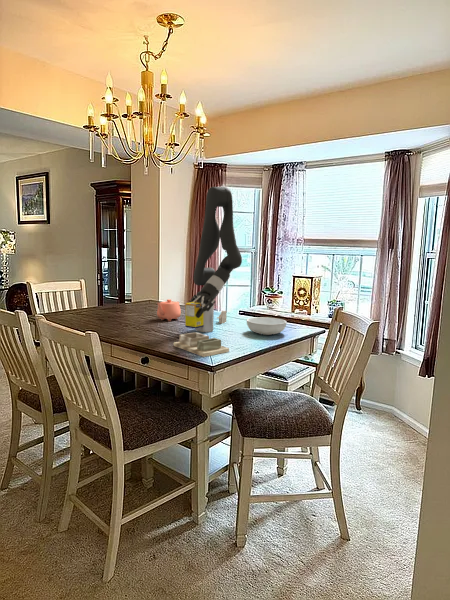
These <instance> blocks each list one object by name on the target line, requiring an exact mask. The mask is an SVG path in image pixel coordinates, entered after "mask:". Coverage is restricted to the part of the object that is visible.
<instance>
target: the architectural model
mask: <svg viewBox="0 0 450 600" xmlns="http://www.w3.org/2000/svg"><path fill="white" fill-rule="evenodd" d="M227 312H228V311H227V310H221V312H220V314H219V315H218V317H216V319H218V324H219V323H220V324H221V325H222V323H223V324H226V323H227V318H228V316H227ZM225 322H226V323H225ZM220 324H219V325H220Z"/></svg>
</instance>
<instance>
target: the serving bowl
mask: <svg viewBox="0 0 450 600" xmlns="http://www.w3.org/2000/svg"><path fill="white" fill-rule="evenodd" d="M246 325H247V327H248V329H249V330H250V331H252V332H254V333H256V334H258V335H262V334H263V336H264V335H265V336H272V334H273V335H277V334H279V333H281V332H283V331H284V330H285V328H286V327H287V320H285V319H282V318H275V317H267V316H263V317H262V316H260V317H258V316H257V317H256V316H255V317H249V318H247V319H246Z"/></svg>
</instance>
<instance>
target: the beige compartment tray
mask: <svg viewBox="0 0 450 600" xmlns="http://www.w3.org/2000/svg"><path fill="white" fill-rule="evenodd" d="M178 337H179V340H178V341H173V346H174V347H176V348H178V349H180V350H181V349H182V350H184V351H187V352H190V353H192V354H194V355H197V356H199V357H203V358H205V357H210V356H214V355H219V354H224V353H229V352H230V348H229V347H226V346H222V339H219V338H216V337H212V338H210V336H209V335H207V334H203V333H202V332H198V331H197V332H196V331H195V332H189V333H183V334H179V336H178Z"/></svg>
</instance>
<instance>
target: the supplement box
mask: <svg viewBox="0 0 450 600" xmlns="http://www.w3.org/2000/svg"><path fill="white" fill-rule="evenodd" d="M184 305H185V306H184V307H185V308H184V309H185V310H184V311H185V313H184V314H185V315H184V316H185V317H184V319H185V323H184V324H185V325H184V328H189V329H190V328H191V329H194V330H196V328H200V327H203V320H204V318H203V317H204V314H202V315H201V316H200V317H199V318H197V317H196V313H197V312H198V310H199V309H201V303H198V302H190V303H189V302H185V303H184ZM203 313H204V312H203Z"/></svg>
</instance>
